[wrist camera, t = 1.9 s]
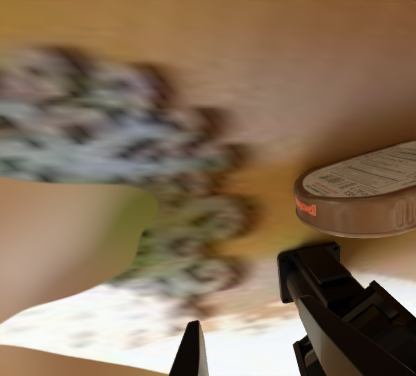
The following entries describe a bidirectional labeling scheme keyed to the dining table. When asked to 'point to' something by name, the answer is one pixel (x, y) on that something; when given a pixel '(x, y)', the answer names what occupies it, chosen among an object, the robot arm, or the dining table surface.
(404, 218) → the tin
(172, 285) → the dining table surface
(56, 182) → the dining table surface
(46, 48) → the dining table surface
